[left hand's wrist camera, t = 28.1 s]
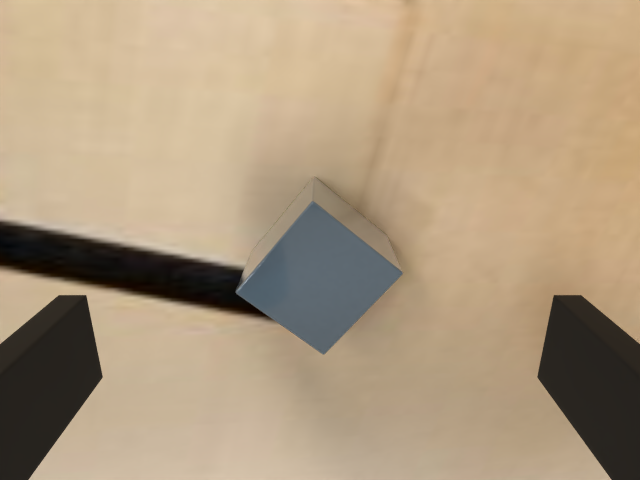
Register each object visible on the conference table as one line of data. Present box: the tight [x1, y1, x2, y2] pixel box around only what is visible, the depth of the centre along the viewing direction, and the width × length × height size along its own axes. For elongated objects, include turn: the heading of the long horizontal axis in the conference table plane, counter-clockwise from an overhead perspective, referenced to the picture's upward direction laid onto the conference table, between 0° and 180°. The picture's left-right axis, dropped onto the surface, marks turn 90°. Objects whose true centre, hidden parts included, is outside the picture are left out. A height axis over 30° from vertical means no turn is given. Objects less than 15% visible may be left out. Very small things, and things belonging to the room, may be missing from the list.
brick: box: [236, 177, 403, 355], centre depth 19 cm, size 4×5×4 cm
